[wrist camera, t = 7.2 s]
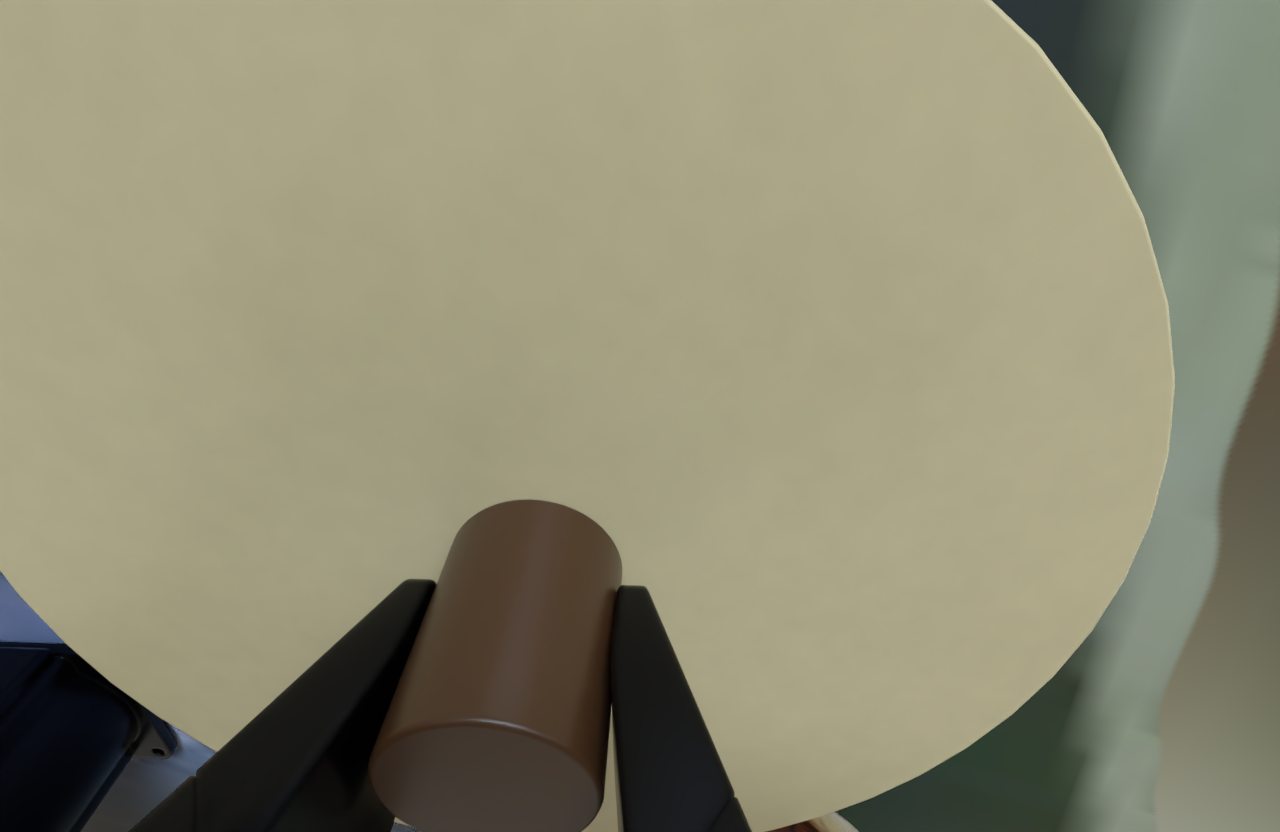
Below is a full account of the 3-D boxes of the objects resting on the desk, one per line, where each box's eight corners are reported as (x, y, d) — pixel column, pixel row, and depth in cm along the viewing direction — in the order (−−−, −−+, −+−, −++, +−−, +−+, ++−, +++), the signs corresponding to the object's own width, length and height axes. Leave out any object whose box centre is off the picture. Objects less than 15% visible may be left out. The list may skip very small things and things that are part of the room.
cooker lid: (953, 815, 16) (1044, 1086, 12) (208, 786, 16) (66, 1035, 12) (1429, -187, 6) (2630, -446, 2) (-386, -177, 7) (-1755, -379, 3)
